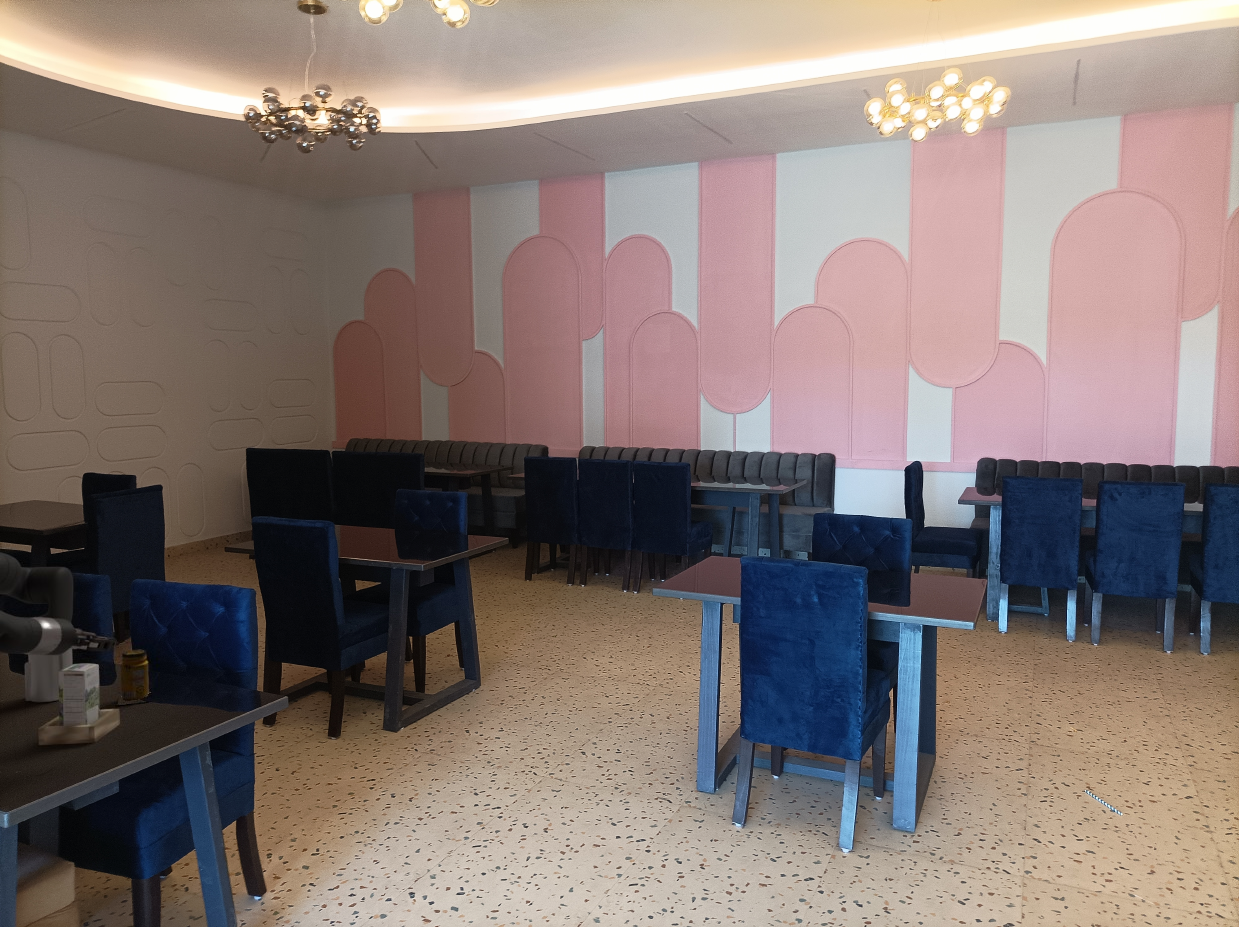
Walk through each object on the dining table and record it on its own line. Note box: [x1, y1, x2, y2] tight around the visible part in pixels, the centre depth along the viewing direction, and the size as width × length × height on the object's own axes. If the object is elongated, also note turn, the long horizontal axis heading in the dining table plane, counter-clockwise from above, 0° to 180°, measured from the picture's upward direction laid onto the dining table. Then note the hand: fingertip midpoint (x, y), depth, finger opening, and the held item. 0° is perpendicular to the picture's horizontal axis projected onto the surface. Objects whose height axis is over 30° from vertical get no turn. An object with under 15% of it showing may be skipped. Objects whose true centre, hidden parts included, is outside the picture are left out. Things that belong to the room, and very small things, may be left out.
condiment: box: [120, 649, 150, 701], centre depth 212 cm, size 7×8×12 cm
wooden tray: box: [37, 708, 121, 746], centre depth 189 cm, size 11×11×4 cm
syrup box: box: [58, 663, 100, 726], centre depth 188 cm, size 6×6×14 cm
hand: (97, 638), depth 188 cm, fingers open, 8 cm apart
